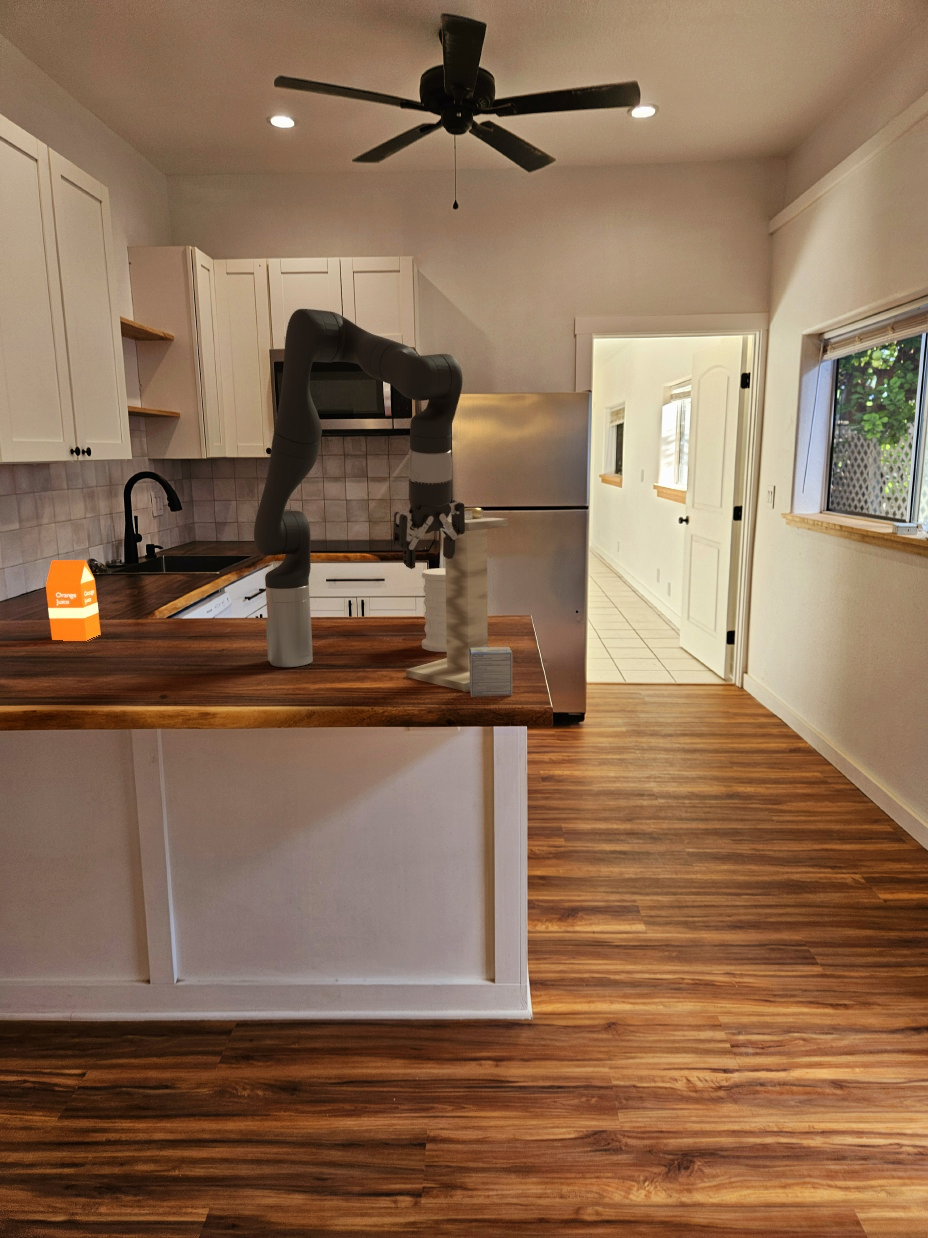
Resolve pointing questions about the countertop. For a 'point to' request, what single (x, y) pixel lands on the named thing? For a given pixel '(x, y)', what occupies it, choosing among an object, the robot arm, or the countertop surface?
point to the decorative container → (435, 610)
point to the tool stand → (463, 606)
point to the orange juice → (72, 601)
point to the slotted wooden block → (469, 514)
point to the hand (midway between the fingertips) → (429, 562)
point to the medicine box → (490, 671)
